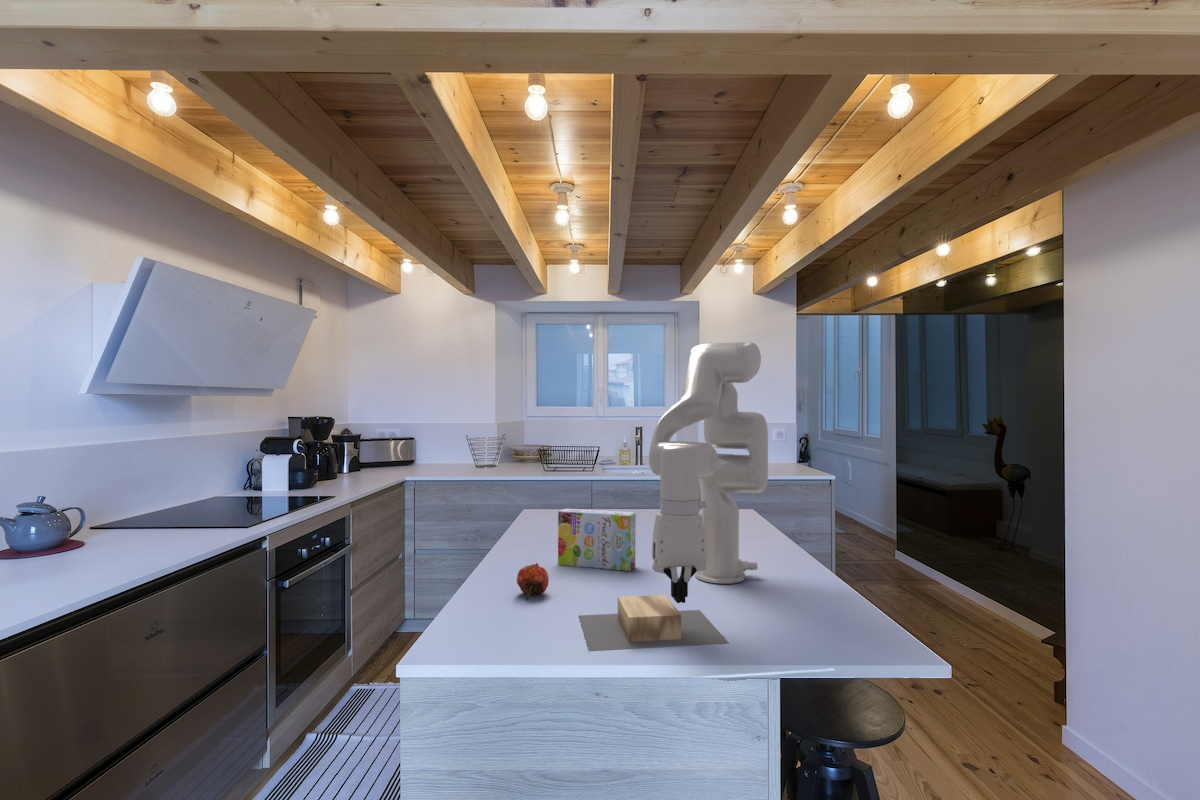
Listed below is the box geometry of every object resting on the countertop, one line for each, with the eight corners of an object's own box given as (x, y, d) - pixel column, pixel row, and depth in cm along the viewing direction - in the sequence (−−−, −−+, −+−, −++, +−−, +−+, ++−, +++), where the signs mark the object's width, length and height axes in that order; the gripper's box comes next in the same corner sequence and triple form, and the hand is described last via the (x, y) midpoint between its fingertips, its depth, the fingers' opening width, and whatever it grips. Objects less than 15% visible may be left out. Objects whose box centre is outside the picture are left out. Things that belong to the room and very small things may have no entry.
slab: (665, 594, 123) (617, 596, 122) (681, 615, 111) (628, 617, 110) (665, 616, 123) (617, 618, 122) (681, 639, 111) (628, 641, 110)
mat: (699, 611, 127) (699, 609, 127) (729, 645, 110) (729, 643, 110) (578, 617, 124) (578, 615, 124) (589, 653, 106) (589, 650, 106)
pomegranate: (546, 609, 135) (558, 573, 143) (534, 589, 131) (548, 553, 139) (517, 608, 138) (531, 573, 145) (505, 589, 134) (520, 553, 142)
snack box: (636, 567, 163) (636, 511, 163) (630, 572, 157) (630, 515, 158) (564, 560, 170) (564, 507, 170) (556, 565, 164) (556, 510, 165)
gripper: (709, 503, 122) (709, 593, 122) (638, 505, 120) (638, 596, 120) (722, 510, 115) (722, 605, 115) (646, 511, 113) (646, 608, 113)
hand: (679, 600), depth 118 cm, fingers closed
